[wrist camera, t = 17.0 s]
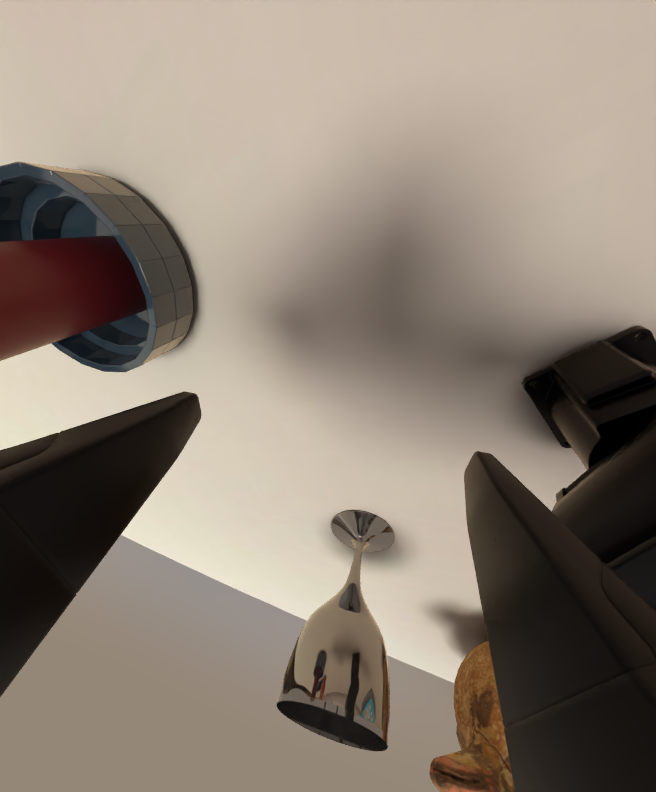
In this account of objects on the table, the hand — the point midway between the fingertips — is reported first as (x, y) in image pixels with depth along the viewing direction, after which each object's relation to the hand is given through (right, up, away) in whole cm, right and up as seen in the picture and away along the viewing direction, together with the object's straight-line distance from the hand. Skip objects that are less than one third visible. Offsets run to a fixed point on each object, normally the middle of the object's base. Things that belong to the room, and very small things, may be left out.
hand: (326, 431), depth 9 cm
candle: (-16, +10, +13) cm, 23 cm away
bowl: (-16, +11, +14) cm, 24 cm away
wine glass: (+4, -14, +23) cm, 27 cm away
